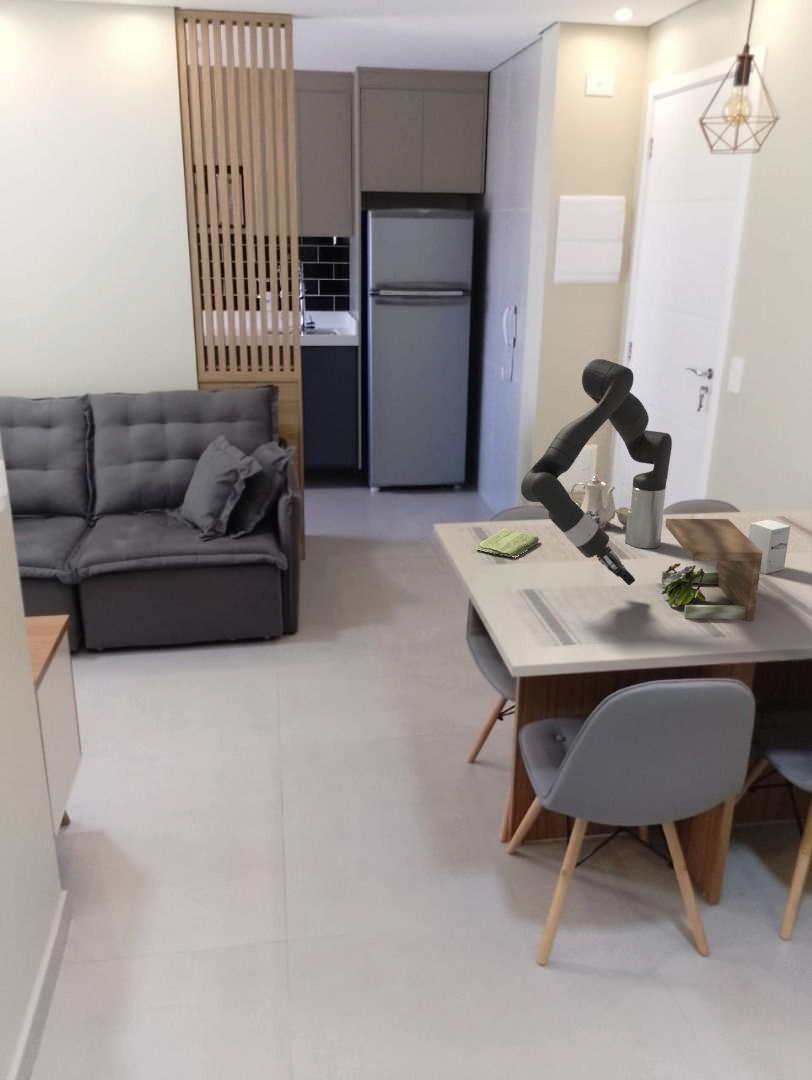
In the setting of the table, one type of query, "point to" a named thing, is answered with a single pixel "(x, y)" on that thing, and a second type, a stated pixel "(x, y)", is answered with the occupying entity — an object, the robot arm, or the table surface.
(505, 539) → the washcloth
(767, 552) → the supplement box
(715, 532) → the shelf
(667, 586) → the passion flower
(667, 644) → the table surface
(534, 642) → the table surface
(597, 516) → the chinaware
